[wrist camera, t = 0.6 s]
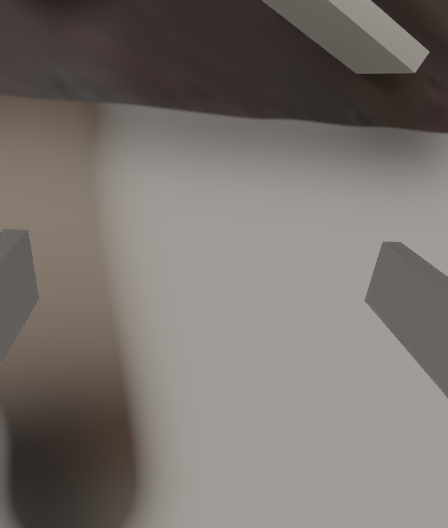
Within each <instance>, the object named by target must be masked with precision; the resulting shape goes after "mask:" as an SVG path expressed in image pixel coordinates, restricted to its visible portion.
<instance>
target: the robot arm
mask: <svg viewBox="0 0 448 528" xmlns="http://www.w3.org/2000/svg"><path fill="white" fill-rule="evenodd" d="M38 300H39V295H38V289H37V282H36V276H35V271H34V264H33V257H32V251H31V245H30V239H29V233H28V230H14V229H3V230H2V232H0V365H1V363H2V361H3V360H4V358H5V356H6V355H7V353H8V351H9V349H10V348H11V346H12V344H13V343H14V340H15V339H16V337H17V336H18V334H19V332H20V331H21V329H22V327H23V325H24V324H25V322H26V320H27V319H28V317H29V315H30V313H31V312H32V310H33V308H34V306H35V305H36V303H37V301H38ZM365 301H366V303H367V304H368V305H369V306H370V307H371V308H372V310H373V311H374V312H375V313H376V314H377V316H378V317H379V318H380V319H381V320H382V321H383V322H384V323H385V325H386V326H387V327H388V328H389V329H390V331H391V332H392V333H393V334H394V335H395V337H396V338H397V339H398V340H399V341H400V342H401V343H402V345H403V346H404V347H405V348H406V349H407V351H408V352H409V353H410V354H411V355H412V356H413V358H414V359H415V360H416V361H417V362H418V364H419V365H420V366H421V367H422V368H423V369H424V371H426V373H427V374H428V375H429V376H430V378H431V379H432V380H433V381H434V382H435V383H436V384H437V386H438V387H439V388H440V389H441V390H442V392H443V393H444V394H445V395H446V396H447V397H448V277H447V276H446V275H444V274H443V273H442V272H440V271H439V270H437V269H436V268H435V267H433V266H432V265H431V264H429V263H428V262H427V261H425V260H424V259H422V258H421V257H420V256H418V255H417V254H416V253H414V252H413V251H412V250H410V249H409V248H408V247H406V246H405V245H404V244H402V243H401V242H383V243H382V246H381V250H380V253H379V256H378V259H377V262H376V266H375V269H374V272H373V275H372V279H371V282H370V285H369V288H368V291H367V295H366V298H365Z"/></svg>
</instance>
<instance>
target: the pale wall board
mask: <svg viewBox="0 0 448 528" xmlns="http://www.w3.org/2000/svg"><path fill="white" fill-rule="evenodd" d="M262 1H263V2H264V3H266V4H267V5H268V6H269V7H271V8H272V9H273V10H275V11H276V12H277V13H278V14H280V15H281V16H282V17H284V18H285V19H286V20H287V21H289V22H290V23H291V24H293V25H294V26H295V27H297V28H298V29H299V30H300V31H302V32H303V33H304V34H306V35H307V36H308V37H309V38H311V39H312V40H313V41H315V42H316V43H317V44H318V45H320V46H321V47H322V48H324V49H325V50H326V51H327V52H329V53H330V54H331V55H333V56H334V57H335V58H337V59H338V60H339V61H340V62H342V63H343V64H344V65H346V66H347V67H348V68H349V69H351V70H352V71H353V72H355V73H356V74H379V73H415V72H416V71H417V69H418V68H419V67H420V65H421V64H422V62H423V61H424V59H425V58H426V57H427V55H428V54H429V51H428V50H427V49H426V48H425V47H423V46H422V45H421V44H420V43H419V42H418V41H417V40H415V39H414V38H413V37H412V36H411V35H410V34H409V33H407V32H406V31H405V30H404V29H403V28H402V27H401V26H399V25H398V24H397V23H396V22H395V21H394V20H393V19H392V18H390V17H389V16H388V15H387V14H386V13H385V12H384V11H382V10H381V9H380V8H379V7H378V6H377V5H376V4H374V3H373V2H372V1H371V0H262Z"/></svg>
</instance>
